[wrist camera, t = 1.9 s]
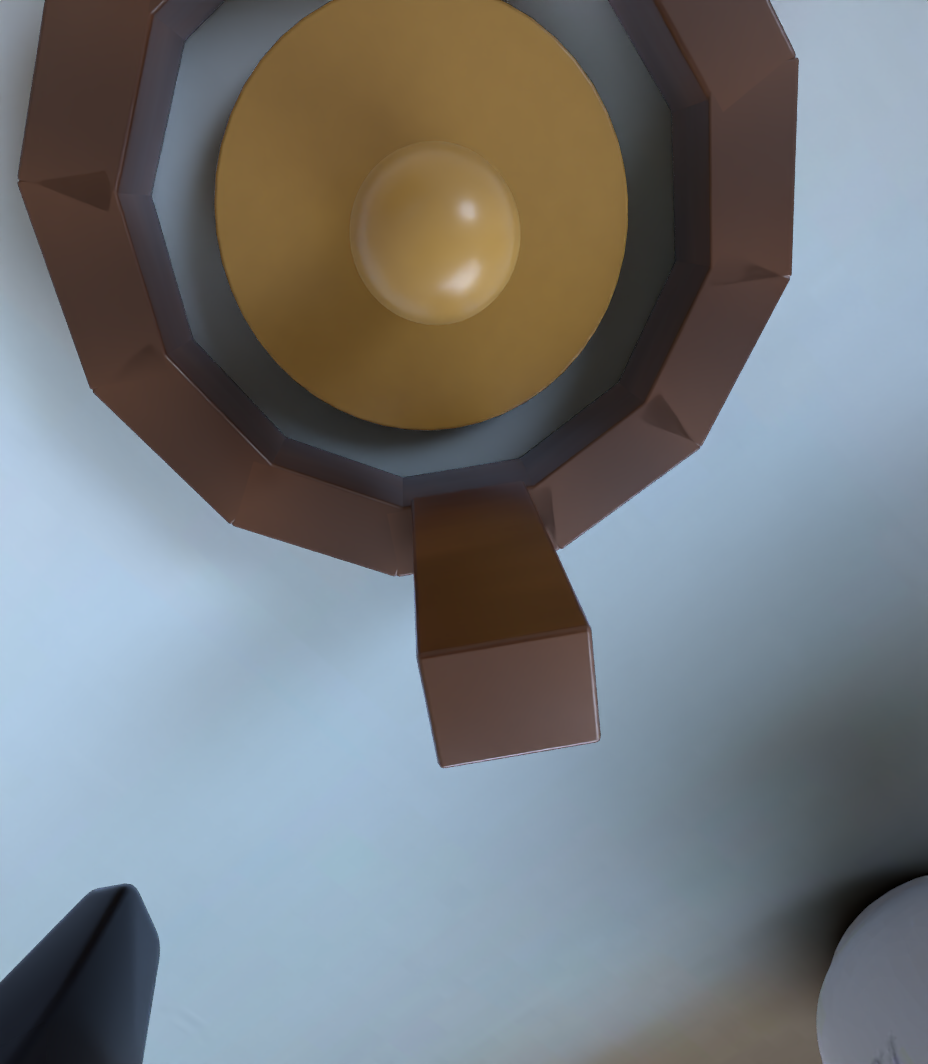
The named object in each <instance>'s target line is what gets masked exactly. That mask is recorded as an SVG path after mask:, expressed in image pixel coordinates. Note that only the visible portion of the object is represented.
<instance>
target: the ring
mask: <svg viewBox="0 0 928 1064" xmlns="http://www.w3.org/2000/svg"><path fill="white" fill-rule="evenodd" d="M224 1H225V0H45V3H44V10H43V16H42V22H41V29H40V35H39V42H38V48H37V54H36V61H35V67H34V74H33V80H32V87H31V93H30V99H29V106H28V112H27V119H26V125H25V131H24V138H23V144H22V151H21V157H20V164H19V170H18V180H19V181H18V187H19V190H20V192H21V195H22V198H23V201H24V204H25V207H26V209H27V212H28V215H29V218H30V221H31V223H32V226H33V229H34V232H35V235H36V237H37V240H38V243H39V246H40V249H41V252H42V254H43V257H44V260H45V263H46V266H47V268H48V271H49V274H50V277H51V280H52V282H53V285H54V288H55V291H56V294H57V297H58V299H59V302H60V305H61V308H62V311H63V313H64V316H65V319H66V322H67V325H68V327H69V330H70V333H71V336H72V339H73V342H74V344H75V347H76V350H77V353H78V356H79V358H80V361H81V364H82V367H83V370H84V372H85V375H86V378H87V381H88V384H89V387H90V388H91V389H93V393H94V394H95V395H96V396H97V397H98V398H99V399H100V400H101V401H103V402H104V403H105V404H106V405H107V406H108V407H109V408H110V409H111V410H112V411H113V412H114V413H115V414H116V415H117V416H118V417H119V418H120V419H121V420H122V421H123V422H124V423H125V424H126V425H127V426H128V427H130V428H131V429H132V430H133V431H134V432H135V433H136V434H137V435H138V436H139V437H140V438H141V439H142V440H143V441H144V442H145V443H146V444H147V445H148V446H149V447H150V448H151V449H152V450H153V451H154V452H155V453H157V454H158V455H159V456H160V457H161V458H162V459H163V460H164V461H165V462H166V463H167V464H168V465H169V466H170V467H171V468H172V469H173V470H174V471H175V472H176V473H177V474H178V475H179V476H180V477H181V478H182V479H184V480H185V481H186V482H187V483H188V484H189V485H190V486H191V487H192V488H193V489H194V490H195V491H196V492H197V493H198V494H199V495H200V496H201V497H202V498H203V499H204V500H205V501H206V502H207V503H208V504H209V505H211V506H212V507H213V508H214V509H215V510H216V511H217V512H218V513H219V514H220V515H221V516H222V517H223V518H224V519H225V520H226V521H227V522H228V523H230V524H231V523H232V525H233V526H235V527H239V528H242V529H245V530H248V531H251V532H255V533H258V534H261V535H264V536H267V537H271V538H274V539H277V540H280V541H283V542H286V543H290V544H293V545H296V546H299V547H302V548H306V549H309V550H312V551H315V552H318V553H322V554H325V555H328V556H331V557H334V558H337V559H341V560H344V561H347V562H350V563H353V564H357V565H360V566H363V567H366V568H369V569H373V570H376V571H379V572H382V573H385V574H388V575H392V576H396V575H397V576H405V575H411V574H414V600H415V629H416V658H417V663H418V668H419V672H420V677H421V682H422V687H423V692H424V697H425V702H426V707H427V712H428V717H429V721H430V726H431V731H432V736H433V741H434V746H435V751H436V756H437V761H438V764H439V765H440V767H441V768H448V767H454V766H460V765H466V764H472V763H477V762H483V761H489V760H495V759H501V758H507V757H513V756H519V755H524V754H530V753H536V752H542V751H548V750H554V749H560V748H565V747H571V746H577V745H583V744H589V743H595V742H598V741H599V740H600V736H601V733H600V722H599V710H598V699H597V687H596V676H595V665H594V653H593V642H592V631H591V627H590V624H589V622H588V620H587V618H586V616H585V614H584V611H583V609H582V607H581V605H580V603H579V600H578V598H577V596H576V594H575V592H574V590H573V587H572V585H571V583H570V581H569V579H568V576H567V574H566V572H565V570H564V568H563V566H562V563H561V561H560V559H559V557H558V555H557V553H556V550H559V548H560V549H563V548H564V547H566V546H567V545H568V544H570V543H571V542H572V541H574V540H575V539H577V538H578V537H579V536H581V535H582V534H583V533H585V532H586V531H587V530H589V529H590V528H592V527H593V526H594V525H596V524H597V523H598V522H600V521H601V520H603V519H604V518H605V517H607V516H608V515H609V514H611V513H612V512H613V511H615V510H616V509H618V508H619V507H620V506H622V505H623V504H624V503H626V502H627V501H629V500H630V499H631V498H633V497H634V496H635V495H637V494H638V493H640V492H641V491H642V490H644V489H645V488H646V487H648V486H649V485H650V484H652V483H653V482H655V481H656V480H657V479H659V478H660V477H661V476H663V475H664V474H666V473H667V472H668V471H670V470H671V469H672V468H674V467H675V466H677V465H678V464H679V463H681V462H682V461H683V460H685V459H686V458H687V457H689V456H690V455H692V454H693V453H694V452H696V451H697V450H698V449H699V448H700V446H702V444H703V442H704V441H705V439H706V437H707V435H708V433H709V431H710V429H711V427H712V425H713V424H714V422H715V420H716V418H717V416H718V414H719V412H720V410H721V408H722V407H723V405H724V403H725V401H726V399H727V397H728V395H729V393H730V391H731V389H732V388H733V386H734V384H735V382H736V380H737V378H738V376H739V374H740V372H741V371H742V369H743V367H744V365H745V363H746V361H747V359H748V357H749V355H750V354H751V352H752V350H753V348H754V346H755V344H756V342H757V340H758V338H759V337H760V335H761V333H762V331H763V329H764V327H765V325H766V323H767V321H768V320H769V318H770V316H771V314H772V312H773V310H774V308H775V306H776V304H777V303H778V301H779V299H780V297H781V295H782V293H783V291H784V289H785V287H786V286H787V284H788V282H789V280H790V276H791V274H792V245H793V215H794V185H795V155H796V125H797V94H798V64H799V60H798V58H796V57H795V51H794V49H793V47H792V45H791V43H790V41H789V39H788V37H787V35H786V33H785V31H784V29H783V27H782V25H781V23H780V21H779V19H778V17H777V15H776V13H775V11H774V9H773V7H772V4H771V2H770V0H608V2H609V3H610V5H611V7H612V9H613V10H614V12H615V14H616V15H617V17H618V19H619V21H620V22H621V24H622V26H623V28H624V29H625V31H626V33H627V35H628V36H629V38H630V40H631V42H632V43H633V45H634V47H635V49H636V50H637V52H638V54H639V56H640V57H641V59H642V61H643V63H644V64H645V66H646V68H647V70H648V71H649V73H650V75H651V77H652V78H653V80H654V82H655V84H656V85H657V87H658V89H659V91H660V92H661V94H662V96H663V97H664V99H665V101H666V103H667V104H668V106H669V108H670V110H671V114H672V151H673V187H674V224H675V260H676V261H675V263H674V266H673V268H672V270H671V272H670V274H669V276H668V278H667V280H666V283H665V285H664V287H663V289H662V291H661V293H660V295H659V297H658V300H657V302H656V304H655V306H654V308H653V310H652V312H651V314H650V317H649V319H648V321H647V323H646V325H645V327H644V329H643V331H642V334H641V336H640V338H639V340H638V342H637V344H636V346H635V348H634V351H633V353H632V355H631V357H630V359H629V361H628V363H627V365H626V368H625V370H624V372H623V374H622V376H621V378H620V380H619V382H618V383H617V384H616V385H614V386H613V387H612V388H611V389H609V390H608V391H607V392H605V393H604V394H603V395H601V396H600V397H599V398H598V399H596V400H595V401H594V402H592V403H591V404H590V405H588V406H587V407H586V408H585V409H583V410H582V411H581V412H579V413H578V414H577V415H575V416H574V417H573V418H572V419H570V420H569V421H568V422H566V423H565V424H564V425H562V426H561V427H560V428H559V429H557V430H556V431H555V432H553V433H552V434H551V435H549V436H548V437H547V438H546V439H544V440H543V441H542V442H540V443H539V444H538V445H536V446H535V447H534V448H533V449H531V450H530V451H529V452H527V453H526V454H525V455H523V456H522V457H521V458H519V459H513V460H507V461H501V462H494V463H488V464H482V465H476V466H470V467H464V468H458V469H452V470H446V471H440V472H434V473H428V474H422V475H416V476H410V477H404V478H403V477H400V476H397V475H394V474H391V473H388V472H385V471H382V470H379V469H376V468H374V467H371V466H368V465H365V464H362V463H359V462H356V461H353V460H350V459H347V458H345V457H342V456H339V455H336V454H333V453H330V452H327V451H324V450H321V449H318V448H316V447H313V446H310V445H307V444H304V443H301V442H298V441H295V440H292V439H289V438H287V437H285V436H284V435H283V434H282V433H281V432H280V431H279V429H278V428H277V427H276V426H275V425H274V424H273V423H272V422H271V421H270V420H269V419H268V418H267V417H266V416H265V415H264V414H263V413H262V411H261V410H260V409H259V408H258V407H257V406H256V405H255V404H254V403H253V402H252V401H251V400H250V399H249V398H248V397H247V396H246V395H245V393H244V392H243V391H242V390H241V389H240V388H239V387H238V386H237V385H236V384H235V383H234V382H233V381H232V380H231V379H230V378H229V377H228V375H227V374H226V373H225V372H224V371H223V370H222V369H221V368H220V367H219V366H218V365H217V364H216V363H215V362H214V361H213V360H212V359H211V357H210V356H209V355H208V354H207V353H206V352H205V351H204V350H203V349H202V348H201V347H200V346H199V345H198V344H197V343H196V342H195V340H194V339H193V337H192V333H191V330H190V327H189V323H188V320H187V316H186V313H185V309H184V306H183V302H182V299H181V296H180V292H179V289H178V285H177V282H176V278H175V275H174V271H173V268H172V265H171V261H170V258H169V254H168V251H167V247H166V244H165V240H164V237H163V233H162V230H161V227H160V223H159V220H158V216H157V213H156V209H155V206H154V202H153V199H152V196H151V195H152V190H153V185H154V181H155V176H156V172H157V167H158V162H159V158H160V153H161V149H162V144H163V140H164V135H165V130H166V126H167V121H168V117H169V112H170V107H171V103H172V98H173V94H174V89H175V85H176V80H177V75H178V71H179V66H180V62H181V57H182V52H183V48H184V43H185V40H186V39H187V38H188V37H189V36H190V35H191V34H192V33H193V32H194V31H195V30H196V29H197V28H198V27H199V26H200V25H201V24H202V23H203V22H204V21H205V20H206V19H207V18H208V17H209V16H210V15H211V14H212V13H213V12H214V11H215V10H216V9H217V8H218V7H219V6H220V5H221V4H222V3H223V2H224Z"/></svg>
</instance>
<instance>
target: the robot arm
mask: <svg viewBox="0 0 928 1064" xmlns="http://www.w3.org/2000/svg"><path fill="white" fill-rule="evenodd" d="M159 956H160V945H159V938H158V934H157V931H156V929H155V927H154V924H153V922H152V920H151V918H150V916H149V914H148V911H147V909H146V907H145V905H144V903H143V900H142V898H141V896H140V894H139V892H138V890H137V889H136V888H135V887H134V886H133V885H131V884H120V885H114V886H109V887H103V888H97V889H95V890H92V891H91V892H89V893H88V894H87V895H86V896H85V897H84V898H83V899H82V900H81V901H80V902H79V903H78V904H77V905H76V906H75V907H74V908H73V909H72V910H71V911H70V912H69V913H68V914H67V915H66V916H65V917H64V918H63V919H62V920H61V921H60V922H59V923H58V924H57V925H56V926H55V927H54V928H53V929H52V930H51V931H50V932H49V933H48V934H47V935H46V936H45V937H44V938H43V939H42V940H41V941H40V942H39V943H38V944H37V945H36V946H35V947H34V949H33V950H32V951H31V952H30V953H29V954H28V955H27V956H26V957H25V958H24V959H23V960H22V961H21V962H20V963H19V964H18V965H17V966H16V967H15V968H14V969H13V970H12V971H11V972H10V973H9V974H8V975H7V976H6V977H5V978H4V979H3V980H2V981H1V982H0V1064H142V1062H143V1055H144V1049H145V1043H146V1037H147V1031H148V1025H149V1018H150V1012H151V1006H152V1000H153V994H154V988H155V981H156V975H157V969H158V963H159Z"/></svg>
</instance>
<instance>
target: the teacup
mask: <svg viewBox="0 0 928 1064" xmlns="http://www.w3.org/2000/svg"><path fill="white" fill-rule="evenodd" d="M817 1040H818V1045H819V1050H820V1054H821V1058H822V1062H823V1064H928V875H926V876H922V877H919V878H915V879H913V880H911V881H908V882H906V883H904V884H902V885H900V886H897V887H896V888H894V889H892V890H890V891H888V892H887V893H885V894H884V895H883V896H881V897H880V898H878V899H877V900H876V901H874V902H873V903H872V904H870V905H869V906H868V907H867V908H865V909H864V910H863V911H862V912H861V913H860V914H859V915H858V916H857V918H856V919H855V920H854V921H853V922H852V924H851V925H850V926H849V927H848V929H847V930H846V932H845V934H844V935H843V937H842V939H841V941H840V942H839V944H838V946H837V948H836V950H835V953H834V956H833V959H832V962H831V966H830V968H829V970H828V972H827V974H826V976H825V979H824V982H823V985H822V988H821V990H820V995H819V1000H818V1006H817Z"/></svg>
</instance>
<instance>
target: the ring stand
mask: <svg viewBox="0 0 928 1064" xmlns="http://www.w3.org/2000/svg"><path fill="white" fill-rule="evenodd" d="M214 212H215V225H216V236H217V241H218V246H219V251H220V256H221V261H222V265H223V268H224V271H225V274H226V277H227V280H228V283H229V286H230V289H231V292H232V294H233V296H234V298H235V300H236V302H237V305H238V307H239V309H240V311H241V313H242V315H243V317H244V319H245V320H246V322H247V324H248V325H249V327H250V329H251V330H252V332H253V333H254V335H255V337H256V338H257V340H258V341H259V342H260V344H261V345H262V346H263V347H264V349H265V350H266V351H267V352H268V354H269V355H270V356H271V357H272V359H273V360H274V361H275V362H276V363H277V364H278V365H279V366H280V367H281V368H282V369H283V370H284V371H285V372H286V373H287V374H288V375H289V376H290V377H291V378H292V379H293V380H294V381H296V382H297V383H298V384H299V385H301V386H302V387H303V388H305V389H306V390H307V391H309V392H310V393H311V394H313V395H314V396H315V397H317V398H319V399H320V400H322V401H324V402H325V403H327V404H329V405H331V406H332V407H334V408H336V409H338V410H340V411H342V412H345V413H347V414H349V415H351V416H354V417H356V418H358V419H361V420H365V421H368V422H371V423H375V424H378V425H382V426H387V427H393V428H399V429H406V430H430V431H433V430H443V429H453V428H459V427H464V426H468V425H472V424H477V423H481V422H483V421H486V420H489V419H492V418H494V417H497V416H500V415H502V414H504V413H506V412H508V411H510V410H512V409H514V408H516V407H518V406H520V405H522V404H524V403H525V402H527V401H528V400H530V399H531V398H533V397H534V396H536V395H537V394H538V393H540V392H541V391H543V390H544V389H546V388H547V387H548V386H549V385H550V384H551V383H552V382H553V381H555V380H556V379H557V378H558V377H559V376H560V375H561V374H562V373H564V371H565V370H566V369H567V368H568V367H569V366H570V365H571V364H572V362H573V361H574V360H575V359H576V358H577V357H578V356H579V354H580V353H581V352H582V350H583V349H584V348H585V346H586V345H587V343H588V342H589V340H590V339H591V337H592V336H593V334H594V333H595V332H596V330H597V328H598V326H599V324H600V322H601V320H602V318H603V316H604V314H605V312H606V310H607V309H608V306H609V304H610V301H611V298H612V296H613V293H614V290H615V288H616V285H617V283H618V279H619V275H620V271H621V267H622V263H623V259H624V254H625V247H626V239H627V231H628V191H627V182H626V173H625V167H624V162H623V158H622V154H621V150H620V145H619V141H618V138H617V135H616V133H615V130H614V127H613V124H612V122H611V119H610V116H609V114H608V111H607V109H606V107H605V105H604V103H603V102H602V100H601V98H600V96H599V94H598V92H597V90H596V88H595V86H594V84H593V83H592V81H591V80H590V79H589V77H588V76H587V74H586V73H585V71H584V70H583V69H582V67H581V66H580V64H579V63H578V61H577V60H576V59H575V58H574V57H573V56H572V55H571V53H570V52H569V51H568V50H567V49H566V48H565V47H564V46H563V45H562V44H561V43H560V41H559V40H558V39H557V38H556V37H555V36H553V35H552V34H551V33H550V32H549V31H547V30H546V29H545V28H544V27H543V26H541V25H540V24H539V23H538V22H536V21H535V20H534V19H533V18H531V17H530V16H528V15H526V14H525V13H523V12H522V11H520V10H518V9H517V8H515V7H513V6H512V5H510V4H508V3H507V2H505V1H502V0H332V1H330V2H328V3H326V4H325V5H323V6H321V7H320V8H318V9H317V10H315V11H313V12H312V13H310V14H308V15H307V16H305V17H304V18H302V19H301V20H300V21H299V22H298V23H296V24H295V25H294V26H293V27H292V28H291V29H289V30H288V31H287V32H286V33H285V34H283V35H282V36H281V37H280V38H279V39H278V40H277V42H276V43H275V44H274V45H273V46H272V47H271V48H270V49H269V51H268V52H267V53H266V54H265V55H264V56H263V57H262V59H261V60H260V61H259V63H258V64H257V66H256V67H255V69H254V70H253V72H252V73H251V75H250V76H249V78H248V79H247V81H246V83H245V84H244V86H243V87H242V90H241V92H240V94H239V96H238V98H237V100H236V102H235V105H234V107H233V109H232V111H231V113H230V116H229V119H228V122H227V125H226V128H225V132H224V135H223V138H222V141H221V145H220V150H219V156H218V162H217V167H216V173H215V192H214Z"/></svg>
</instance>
